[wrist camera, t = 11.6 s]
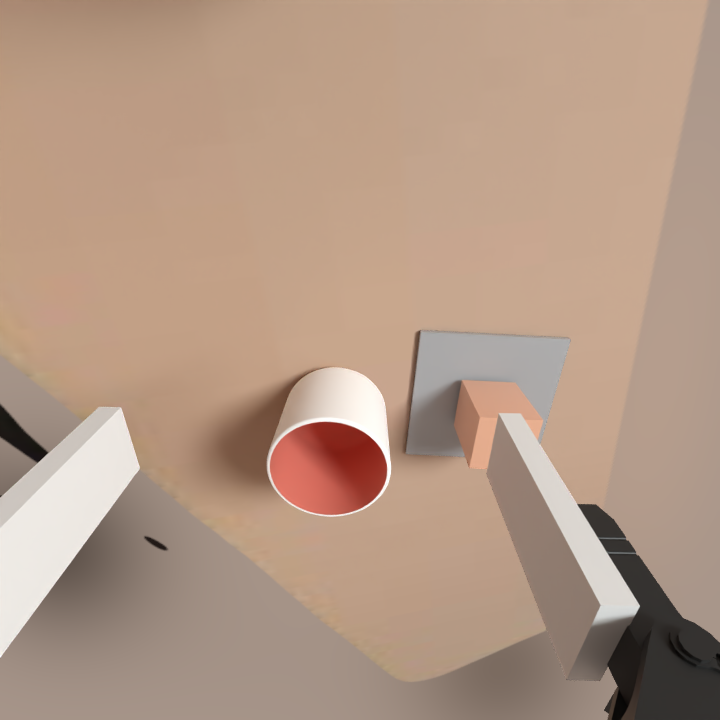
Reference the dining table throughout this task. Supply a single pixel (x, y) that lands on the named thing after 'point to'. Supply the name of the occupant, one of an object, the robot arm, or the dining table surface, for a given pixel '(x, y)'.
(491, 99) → the dining table surface
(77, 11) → the dining table surface
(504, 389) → the peach toy cube
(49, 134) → the dining table surface
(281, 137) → the dining table surface
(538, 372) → the grey square plate
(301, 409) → the cup
